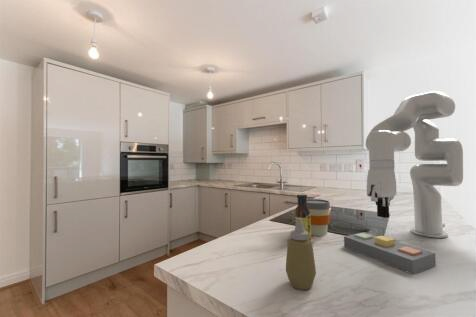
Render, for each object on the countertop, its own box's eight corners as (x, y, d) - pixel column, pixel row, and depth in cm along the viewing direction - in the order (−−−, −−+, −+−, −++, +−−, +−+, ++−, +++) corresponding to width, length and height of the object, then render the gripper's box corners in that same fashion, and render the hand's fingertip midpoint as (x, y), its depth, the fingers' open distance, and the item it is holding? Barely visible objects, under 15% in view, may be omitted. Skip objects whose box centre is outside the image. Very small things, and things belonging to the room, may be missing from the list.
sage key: (362, 238, 88) (362, 232, 88) (373, 241, 84) (372, 236, 84) (354, 240, 86) (354, 234, 86) (365, 243, 82) (365, 237, 82)
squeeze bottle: (282, 277, 64) (280, 215, 64) (309, 276, 65) (307, 214, 65) (291, 294, 56) (289, 223, 56) (321, 291, 57) (319, 221, 57)
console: (365, 241, 91) (364, 232, 91) (435, 265, 69) (435, 253, 69) (344, 246, 86) (343, 236, 87) (413, 274, 64) (412, 260, 65)
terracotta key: (406, 252, 74) (406, 246, 74) (421, 257, 70) (421, 250, 70) (398, 255, 72) (398, 248, 72) (413, 260, 68) (413, 253, 68)
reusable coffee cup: (333, 231, 106) (332, 200, 106) (328, 239, 95) (327, 204, 96) (306, 227, 113) (306, 198, 113) (299, 234, 102) (298, 202, 103)
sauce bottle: (312, 244, 90) (310, 195, 90) (296, 243, 91) (295, 195, 91) (310, 239, 96) (308, 193, 96) (295, 238, 97) (294, 193, 98)
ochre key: (382, 241, 81) (382, 235, 81) (395, 245, 77) (394, 239, 77) (374, 243, 79) (374, 237, 79) (386, 247, 75) (386, 241, 75)
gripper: (384, 165, 85) (386, 212, 85) (357, 165, 79) (359, 217, 79) (405, 165, 78) (407, 217, 78) (378, 165, 72) (379, 221, 72)
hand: (383, 216), depth 78 cm, fingers closed
